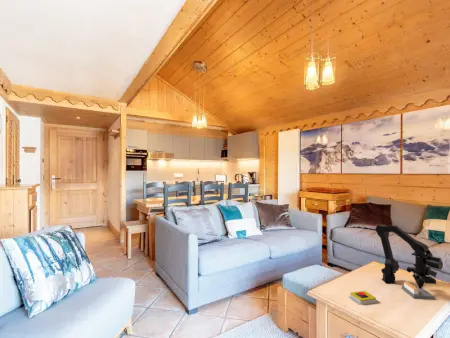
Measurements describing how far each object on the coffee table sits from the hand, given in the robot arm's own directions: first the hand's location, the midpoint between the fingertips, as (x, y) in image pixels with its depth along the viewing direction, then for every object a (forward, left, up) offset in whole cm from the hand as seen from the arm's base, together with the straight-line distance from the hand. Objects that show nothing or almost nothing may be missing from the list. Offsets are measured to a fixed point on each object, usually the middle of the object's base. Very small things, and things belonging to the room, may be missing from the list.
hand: (420, 288), depth 158 cm
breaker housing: (-2, 0, -4) cm, 4 cm away
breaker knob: (-6, 0, -2) cm, 6 cm away
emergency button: (-39, -11, -4) cm, 41 cm away
